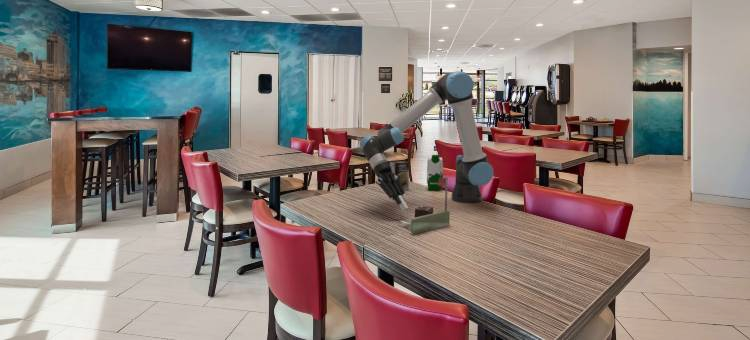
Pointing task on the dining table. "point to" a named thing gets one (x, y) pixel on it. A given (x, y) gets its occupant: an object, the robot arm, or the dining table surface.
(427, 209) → the box
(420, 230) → the green bar with posts
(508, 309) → the dining table surface
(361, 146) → the robot arm
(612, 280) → the dining table surface
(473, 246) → the dining table surface
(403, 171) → the coffee box
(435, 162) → the milk carton
